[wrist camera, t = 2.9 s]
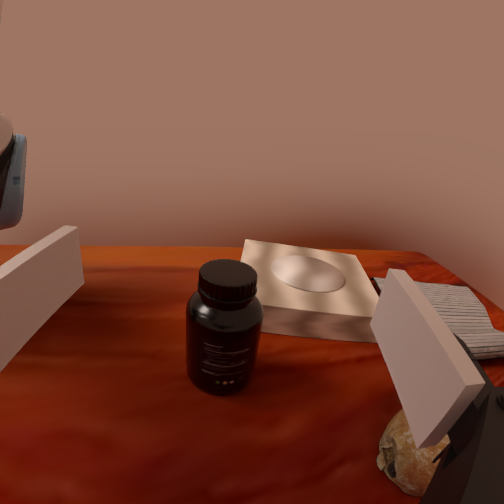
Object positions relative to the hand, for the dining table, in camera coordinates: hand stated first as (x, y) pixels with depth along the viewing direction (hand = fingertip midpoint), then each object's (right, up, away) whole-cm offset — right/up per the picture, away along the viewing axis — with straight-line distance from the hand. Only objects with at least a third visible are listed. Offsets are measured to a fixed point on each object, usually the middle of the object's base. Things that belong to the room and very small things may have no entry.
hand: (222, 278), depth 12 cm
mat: (+33, -11, +31) cm, 47 cm away
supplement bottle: (-2, -12, +18) cm, 21 cm away
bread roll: (+17, -18, +9) cm, 27 cm away
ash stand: (+9, -6, +34) cm, 36 cm away
